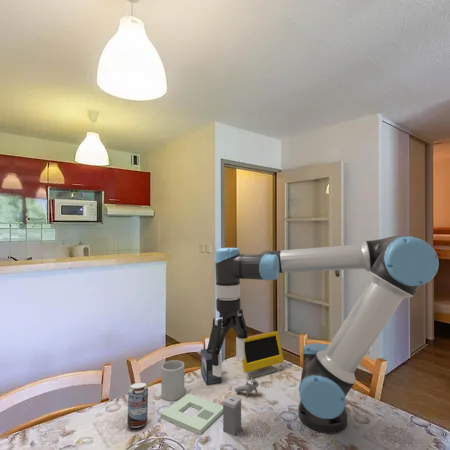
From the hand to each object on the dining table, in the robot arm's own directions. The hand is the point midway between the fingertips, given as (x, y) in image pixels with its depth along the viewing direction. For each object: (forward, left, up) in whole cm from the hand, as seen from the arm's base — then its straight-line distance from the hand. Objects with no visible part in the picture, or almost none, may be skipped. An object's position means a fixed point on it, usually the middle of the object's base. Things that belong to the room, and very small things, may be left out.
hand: (229, 366), depth 94 cm
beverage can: (+26, +13, -19) cm, 35 cm away
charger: (-1, 0, -19) cm, 19 cm away
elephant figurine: (+4, -19, -19) cm, 27 cm away
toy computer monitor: (+8, -39, -19) cm, 44 cm away
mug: (+29, -7, -19) cm, 35 cm away
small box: (+23, -23, -19) cm, 37 cm away
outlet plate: (+14, 0, -19) cm, 23 cm away
